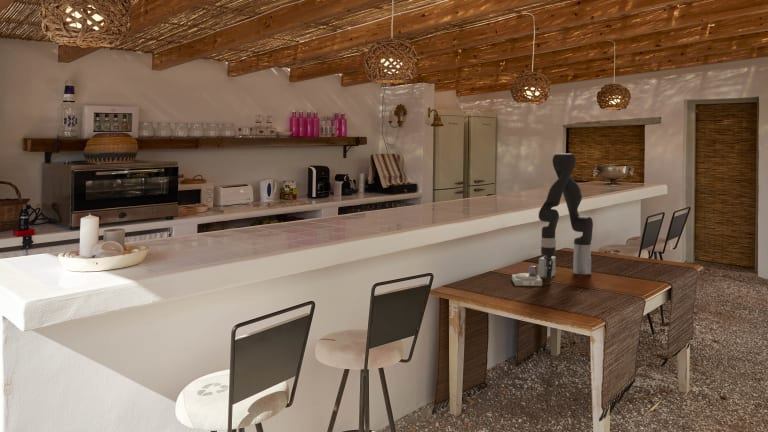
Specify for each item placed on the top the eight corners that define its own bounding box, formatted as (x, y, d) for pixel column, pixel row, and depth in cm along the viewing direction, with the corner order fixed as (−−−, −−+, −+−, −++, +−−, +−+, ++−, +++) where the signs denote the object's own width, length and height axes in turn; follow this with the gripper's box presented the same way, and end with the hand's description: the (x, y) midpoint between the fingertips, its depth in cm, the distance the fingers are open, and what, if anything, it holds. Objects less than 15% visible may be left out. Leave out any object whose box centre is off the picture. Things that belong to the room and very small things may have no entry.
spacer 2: (551, 276, 320) (551, 267, 320) (552, 278, 316) (553, 269, 315) (543, 276, 321) (543, 267, 320) (544, 278, 317) (544, 269, 316)
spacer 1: (536, 274, 321) (536, 265, 320) (537, 276, 316) (537, 267, 316) (528, 274, 321) (528, 265, 321) (529, 276, 317) (529, 267, 316)
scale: (537, 280, 326) (537, 272, 325) (542, 286, 311) (542, 278, 311) (511, 279, 327) (512, 272, 327) (515, 285, 313) (515, 278, 312)
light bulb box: (544, 273, 342) (544, 255, 341) (555, 274, 339) (556, 256, 337) (538, 277, 334) (538, 258, 332) (549, 278, 330) (550, 259, 328)
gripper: (558, 248, 309) (557, 280, 311) (552, 243, 323) (552, 273, 325) (543, 248, 310) (543, 280, 312) (538, 243, 324) (538, 273, 326)
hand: (547, 276), depth 318 cm, fingers closed on spacer 2, 4 cm apart
